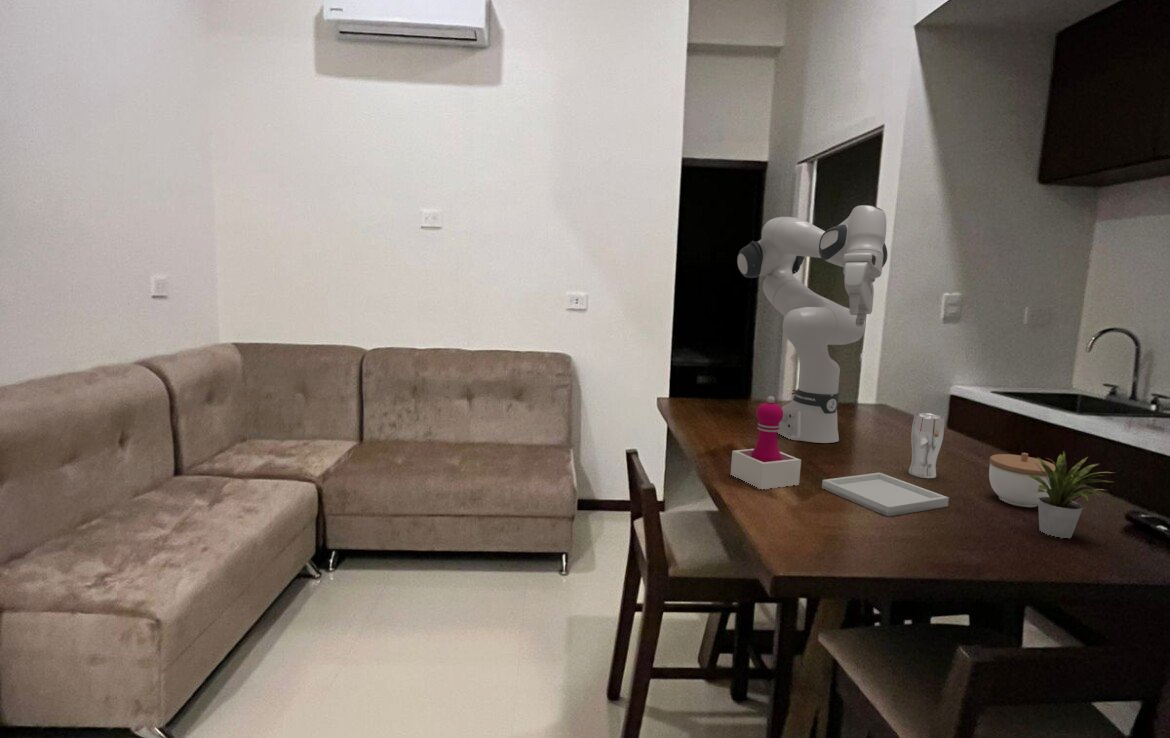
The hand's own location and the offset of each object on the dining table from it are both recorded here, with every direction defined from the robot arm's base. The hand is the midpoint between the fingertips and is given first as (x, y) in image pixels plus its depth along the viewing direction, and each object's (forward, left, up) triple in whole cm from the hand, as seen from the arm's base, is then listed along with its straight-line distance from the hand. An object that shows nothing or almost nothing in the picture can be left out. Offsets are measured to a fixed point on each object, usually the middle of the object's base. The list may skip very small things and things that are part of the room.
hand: (856, 320), depth 159 cm
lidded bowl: (+32, +19, -38) cm, 53 cm away
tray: (+20, -9, -37) cm, 43 cm away
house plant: (+47, +6, -38) cm, 61 cm away
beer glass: (+11, +15, -38) cm, 42 cm away
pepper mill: (+2, -27, -38) cm, 46 cm away
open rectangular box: (+2, -27, -37) cm, 46 cm away
